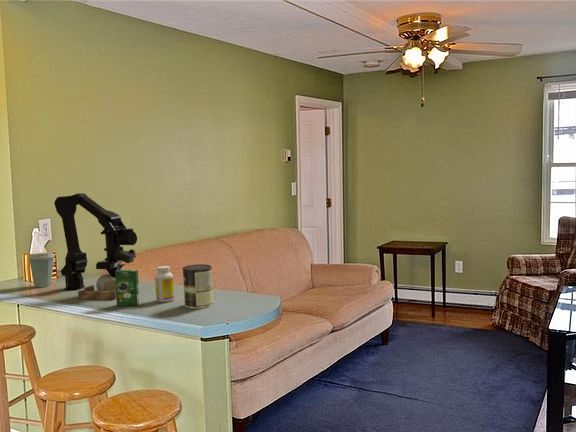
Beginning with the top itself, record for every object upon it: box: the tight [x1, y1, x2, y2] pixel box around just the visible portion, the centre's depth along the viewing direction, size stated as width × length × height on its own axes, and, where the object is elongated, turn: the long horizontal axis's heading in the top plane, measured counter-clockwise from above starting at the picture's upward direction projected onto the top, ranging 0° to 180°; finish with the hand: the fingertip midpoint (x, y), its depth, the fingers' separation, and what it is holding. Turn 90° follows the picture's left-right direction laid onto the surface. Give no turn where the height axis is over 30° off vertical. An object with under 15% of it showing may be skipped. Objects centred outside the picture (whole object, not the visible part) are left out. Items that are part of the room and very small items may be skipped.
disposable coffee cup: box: [28, 252, 56, 288], centre depth 256 cm, size 11×11×15 cm
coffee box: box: [115, 269, 140, 307], centre depth 213 cm, size 8×3×13 cm, turn 87°
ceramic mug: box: [95, 274, 116, 291], centre depth 234 cm, size 11×8×8 cm
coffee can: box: [182, 263, 214, 310], centre depth 209 cm, size 10×10×14 cm
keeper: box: [77, 284, 116, 301], centre depth 231 cm, size 18×11×3 cm, turn 76°
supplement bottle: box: [154, 265, 175, 303], centre depth 218 cm, size 7×7×13 cm
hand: (115, 282), depth 239 cm, fingers closed
